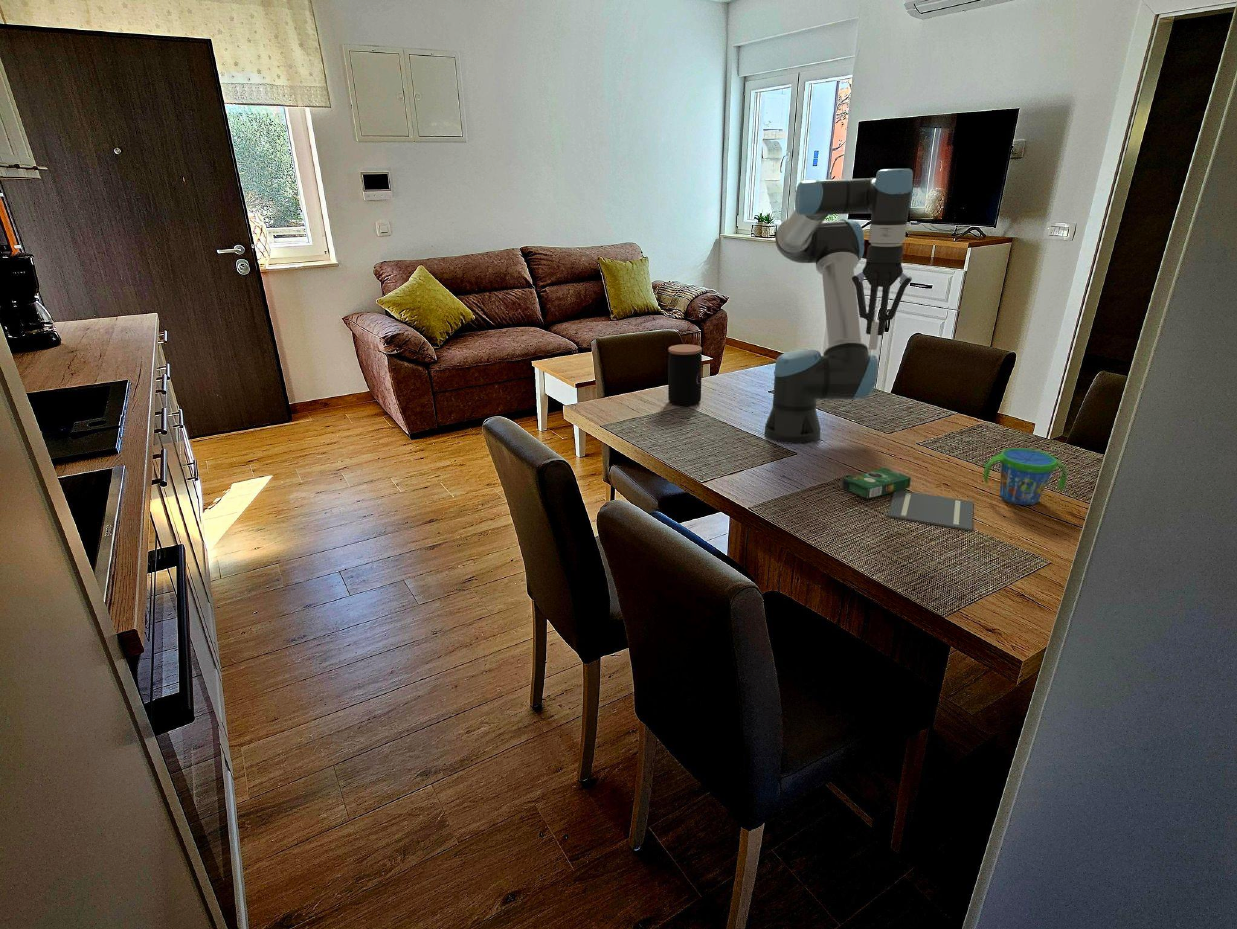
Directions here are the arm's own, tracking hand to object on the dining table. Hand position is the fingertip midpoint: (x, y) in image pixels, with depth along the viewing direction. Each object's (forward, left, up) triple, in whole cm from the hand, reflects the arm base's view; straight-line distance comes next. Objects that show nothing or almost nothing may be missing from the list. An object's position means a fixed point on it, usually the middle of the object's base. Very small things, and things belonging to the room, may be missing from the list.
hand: (872, 348), depth 159 cm
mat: (+18, -23, -29) cm, 41 cm away
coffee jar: (-59, +29, -29) cm, 72 cm away
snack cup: (+35, -10, -29) cm, 46 cm away
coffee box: (+2, -22, -27) cm, 35 cm away
